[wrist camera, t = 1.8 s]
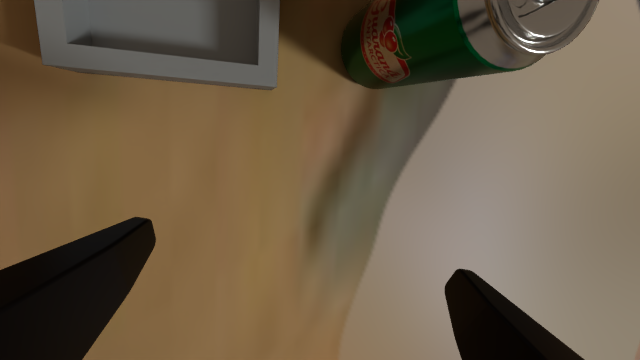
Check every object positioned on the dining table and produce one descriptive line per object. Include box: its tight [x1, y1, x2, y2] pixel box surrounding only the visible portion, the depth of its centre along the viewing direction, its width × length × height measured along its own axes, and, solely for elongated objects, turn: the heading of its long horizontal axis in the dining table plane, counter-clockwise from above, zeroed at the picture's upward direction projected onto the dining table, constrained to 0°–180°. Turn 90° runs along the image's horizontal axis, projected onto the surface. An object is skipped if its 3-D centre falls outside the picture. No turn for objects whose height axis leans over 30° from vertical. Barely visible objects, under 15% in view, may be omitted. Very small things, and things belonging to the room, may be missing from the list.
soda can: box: [341, 0, 599, 89], centre depth 14 cm, size 5×5×12 cm
